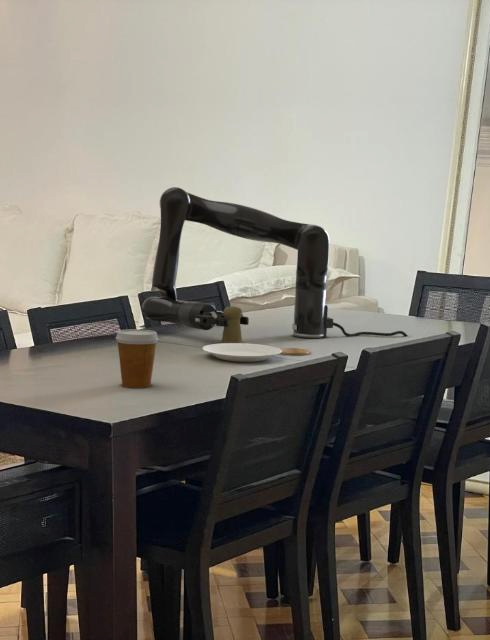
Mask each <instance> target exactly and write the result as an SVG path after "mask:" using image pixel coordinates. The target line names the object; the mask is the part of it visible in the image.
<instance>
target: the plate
mask: <svg viewBox="0 0 490 640" xmlns="http://www.w3.org/2000/svg"><path fill="white" fill-rule="evenodd" d="M202 350H203V351H204V352H206V353H207V354H210V355H212V356H214V358H217V359H219V360H223V361H229V362H238V363H254V362H255V363H256V362H263V361H266V360H269V359H271V358H273V357H275V356H277V355H279V353H281V352H282V350H281V349H279V347H276V346H273V345H266V344H260V343H259V344H258V343H245V342H242V343H213V344H206V345H204V346H202Z"/></svg>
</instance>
